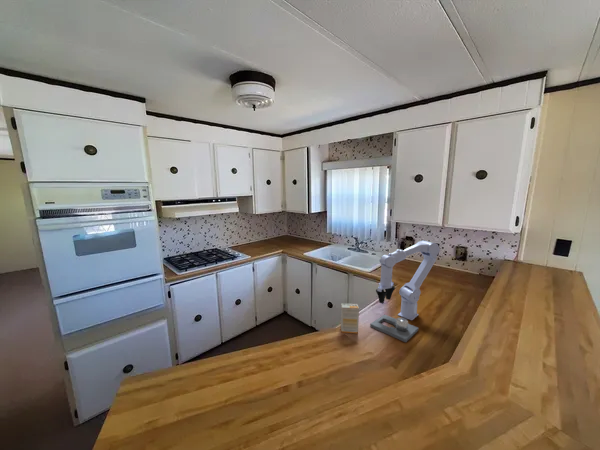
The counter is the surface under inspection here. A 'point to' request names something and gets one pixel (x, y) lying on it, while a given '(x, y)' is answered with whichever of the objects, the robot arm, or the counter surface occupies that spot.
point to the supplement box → (349, 318)
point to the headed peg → (402, 324)
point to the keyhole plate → (391, 330)
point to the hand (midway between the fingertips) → (384, 301)
